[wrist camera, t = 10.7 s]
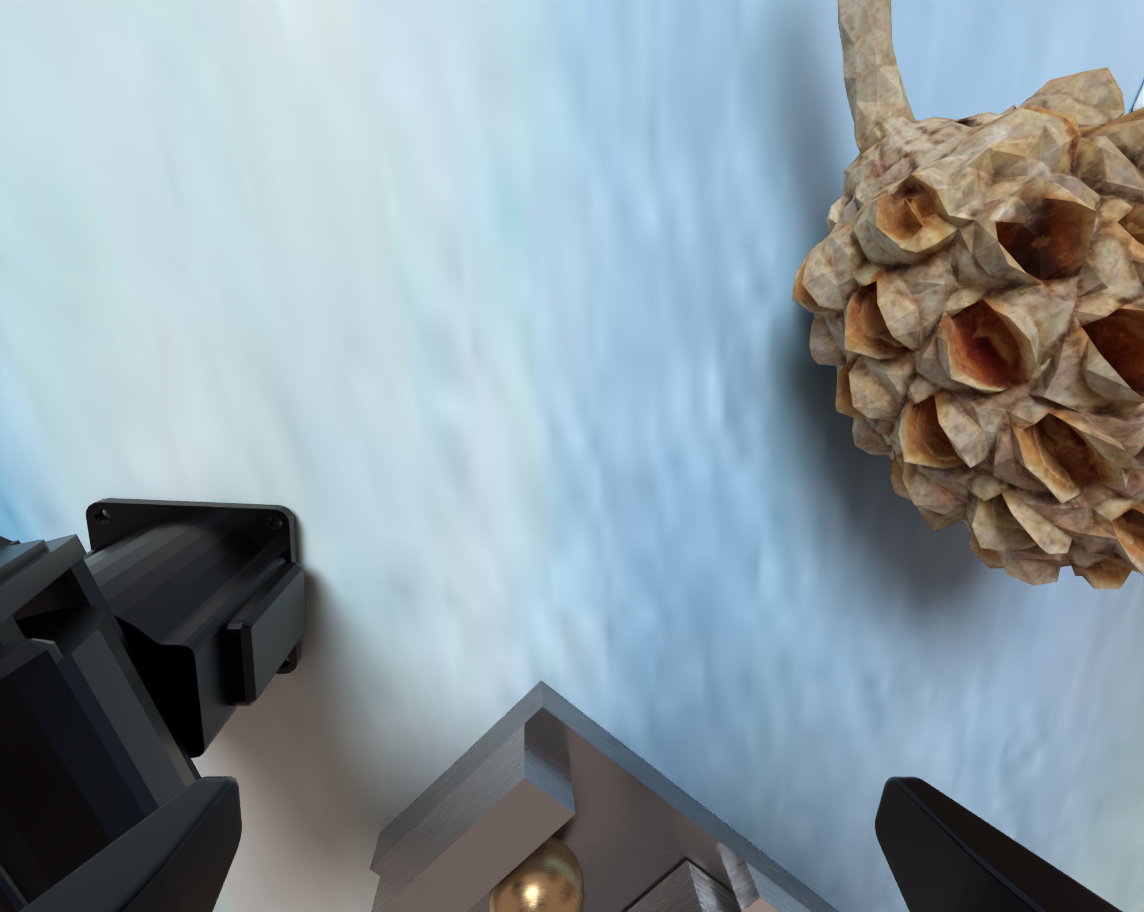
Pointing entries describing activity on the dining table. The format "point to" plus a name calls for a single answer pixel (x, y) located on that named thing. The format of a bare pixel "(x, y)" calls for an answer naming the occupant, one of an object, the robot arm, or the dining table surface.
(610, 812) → the base
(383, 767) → the dining table surface
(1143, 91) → the jar
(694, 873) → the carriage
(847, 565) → the dining table surface
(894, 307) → the pine cone
